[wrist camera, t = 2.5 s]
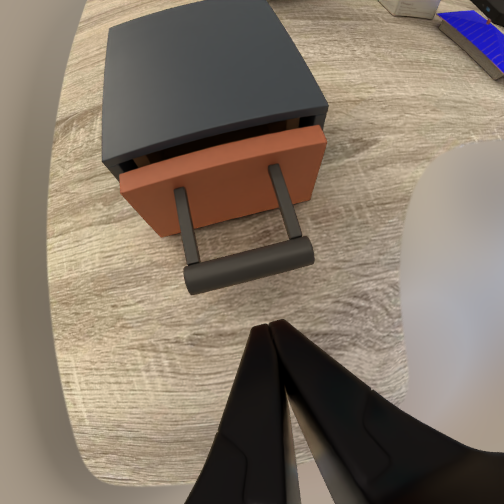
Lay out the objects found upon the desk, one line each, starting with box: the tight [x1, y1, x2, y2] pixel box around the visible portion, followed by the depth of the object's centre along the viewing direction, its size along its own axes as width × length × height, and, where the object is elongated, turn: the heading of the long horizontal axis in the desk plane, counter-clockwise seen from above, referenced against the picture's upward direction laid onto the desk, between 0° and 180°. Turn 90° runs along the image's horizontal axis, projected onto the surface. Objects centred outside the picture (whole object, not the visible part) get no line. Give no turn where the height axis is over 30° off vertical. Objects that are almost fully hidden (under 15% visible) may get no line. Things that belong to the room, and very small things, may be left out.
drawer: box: [119, 118, 327, 295], centre depth 20 cm, size 18×11×7 cm, turn 14°
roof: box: [436, 10, 504, 80], centre depth 26 cm, size 12×12×5 cm
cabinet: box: [102, 0, 329, 183], centre depth 21 cm, size 13×12×9 cm
